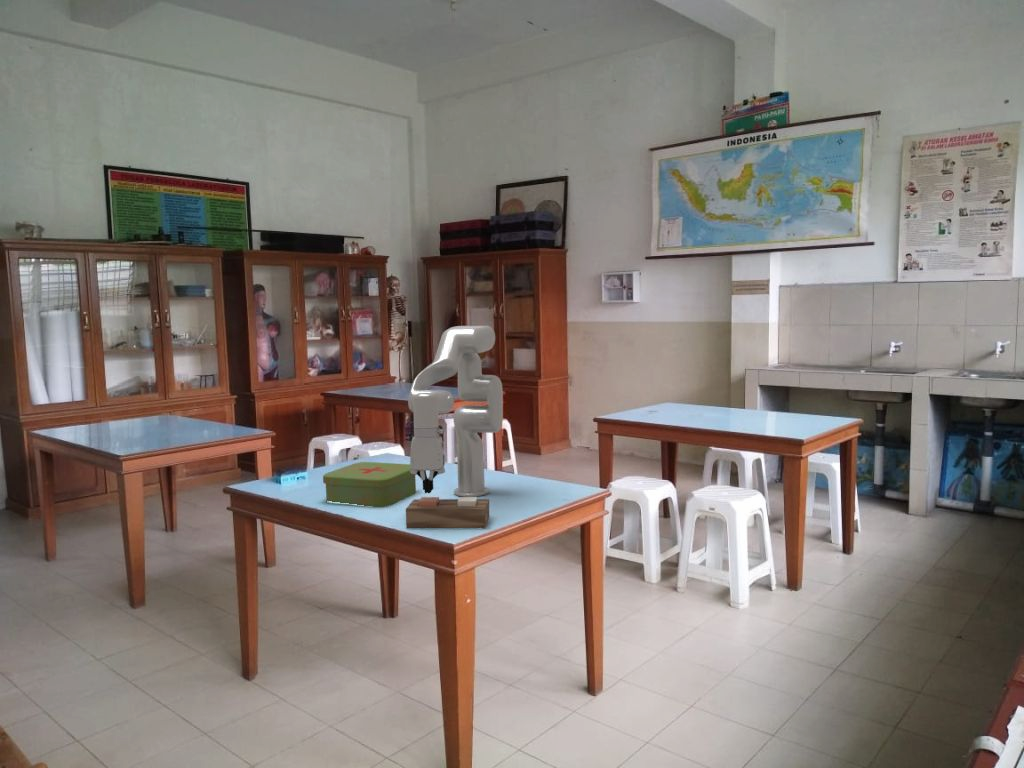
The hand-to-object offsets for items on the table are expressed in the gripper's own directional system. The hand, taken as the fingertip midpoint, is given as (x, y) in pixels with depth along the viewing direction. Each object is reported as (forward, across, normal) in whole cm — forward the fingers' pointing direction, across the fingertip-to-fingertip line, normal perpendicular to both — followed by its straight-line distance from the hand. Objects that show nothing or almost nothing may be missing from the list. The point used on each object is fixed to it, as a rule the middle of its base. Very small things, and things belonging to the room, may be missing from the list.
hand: (428, 492), depth 233 cm
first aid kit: (+10, +27, -34) cm, 45 cm away
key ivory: (+7, -12, 0) cm, 14 cm away
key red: (+7, 0, 0) cm, 7 cm away
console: (+10, -6, 0) cm, 12 cm away
